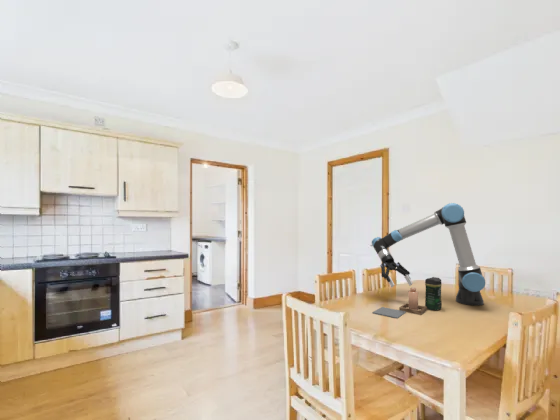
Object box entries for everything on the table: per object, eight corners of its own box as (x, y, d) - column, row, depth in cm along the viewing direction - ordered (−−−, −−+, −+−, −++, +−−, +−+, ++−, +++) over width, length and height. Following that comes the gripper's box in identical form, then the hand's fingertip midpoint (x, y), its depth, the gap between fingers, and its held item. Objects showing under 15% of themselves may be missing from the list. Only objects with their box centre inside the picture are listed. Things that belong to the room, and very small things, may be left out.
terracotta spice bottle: (419, 310, 178) (419, 288, 178) (416, 312, 174) (416, 289, 174) (410, 308, 181) (409, 286, 182) (407, 310, 177) (407, 288, 178)
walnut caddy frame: (427, 310, 178) (427, 306, 178) (421, 315, 169) (421, 311, 169) (406, 306, 186) (406, 303, 186) (399, 310, 177) (399, 307, 177)
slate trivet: (405, 312, 174) (405, 311, 174) (397, 318, 163) (397, 317, 163) (382, 307, 183) (382, 306, 183) (372, 313, 172) (372, 312, 172)
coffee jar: (437, 311, 175) (436, 279, 176) (423, 308, 181) (422, 277, 182) (443, 308, 182) (443, 277, 182) (430, 305, 188) (429, 275, 188)
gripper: (398, 260, 207) (415, 287, 192) (367, 261, 198) (382, 290, 184) (404, 253, 202) (421, 280, 187) (372, 254, 194) (388, 283, 179)
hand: (402, 285), depth 185 cm, fingers open, 13 cm apart
